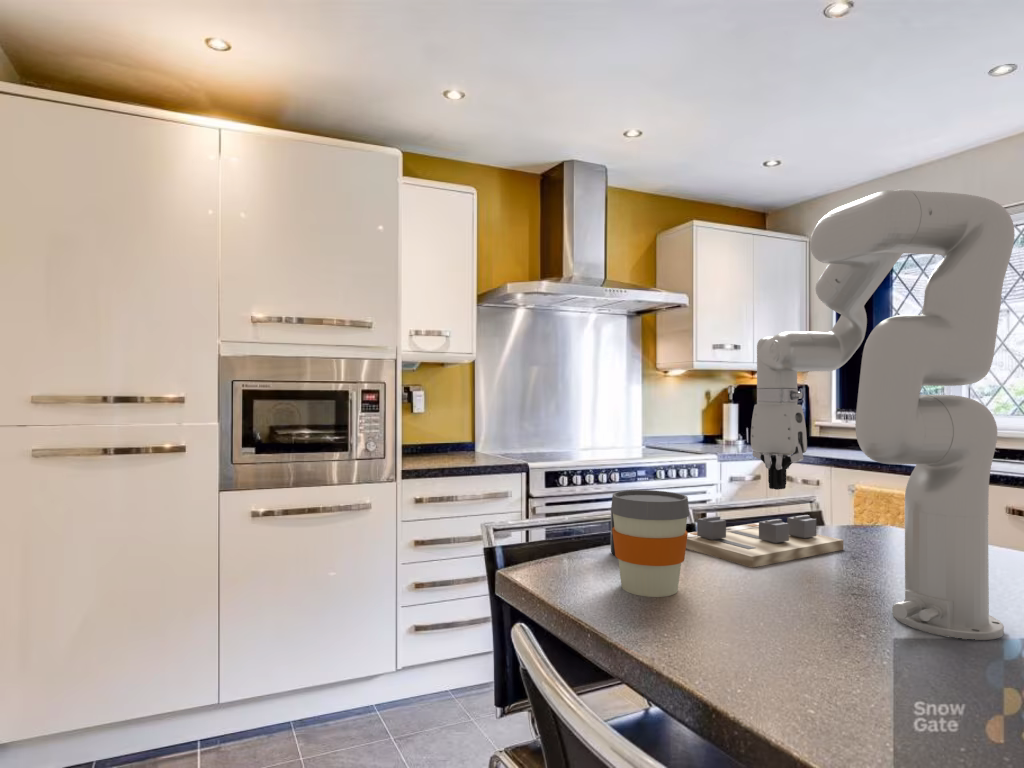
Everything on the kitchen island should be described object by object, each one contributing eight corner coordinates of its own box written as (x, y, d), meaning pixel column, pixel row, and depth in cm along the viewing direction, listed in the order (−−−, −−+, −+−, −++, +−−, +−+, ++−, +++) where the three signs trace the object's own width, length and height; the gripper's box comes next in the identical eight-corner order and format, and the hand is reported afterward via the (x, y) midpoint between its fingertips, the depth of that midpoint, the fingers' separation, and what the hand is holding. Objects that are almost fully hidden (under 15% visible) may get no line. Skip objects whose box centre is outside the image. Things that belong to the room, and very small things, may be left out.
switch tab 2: (775, 543, 123) (775, 522, 123) (758, 539, 126) (758, 519, 126) (789, 540, 125) (789, 520, 125) (771, 536, 128) (772, 517, 128)
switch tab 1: (711, 539, 125) (712, 519, 125) (696, 535, 129) (697, 516, 129) (726, 537, 127) (726, 518, 127) (711, 533, 131) (711, 514, 131)
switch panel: (752, 567, 113) (752, 555, 113) (672, 544, 131) (672, 534, 131) (843, 549, 127) (843, 538, 127) (760, 530, 145) (760, 521, 145)
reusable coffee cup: (662, 574, 109) (662, 488, 109) (705, 596, 97) (705, 500, 97) (597, 580, 105) (597, 491, 105) (634, 604, 93) (634, 503, 93)
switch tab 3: (804, 538, 127) (804, 518, 127) (786, 534, 131) (786, 515, 131) (816, 536, 129) (816, 516, 130) (799, 532, 133) (799, 513, 133)
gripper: (823, 397, 121) (823, 492, 121) (756, 397, 134) (756, 483, 133) (800, 397, 117) (800, 495, 117) (733, 397, 130) (734, 485, 129)
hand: (777, 488), depth 125 cm, fingers closed
